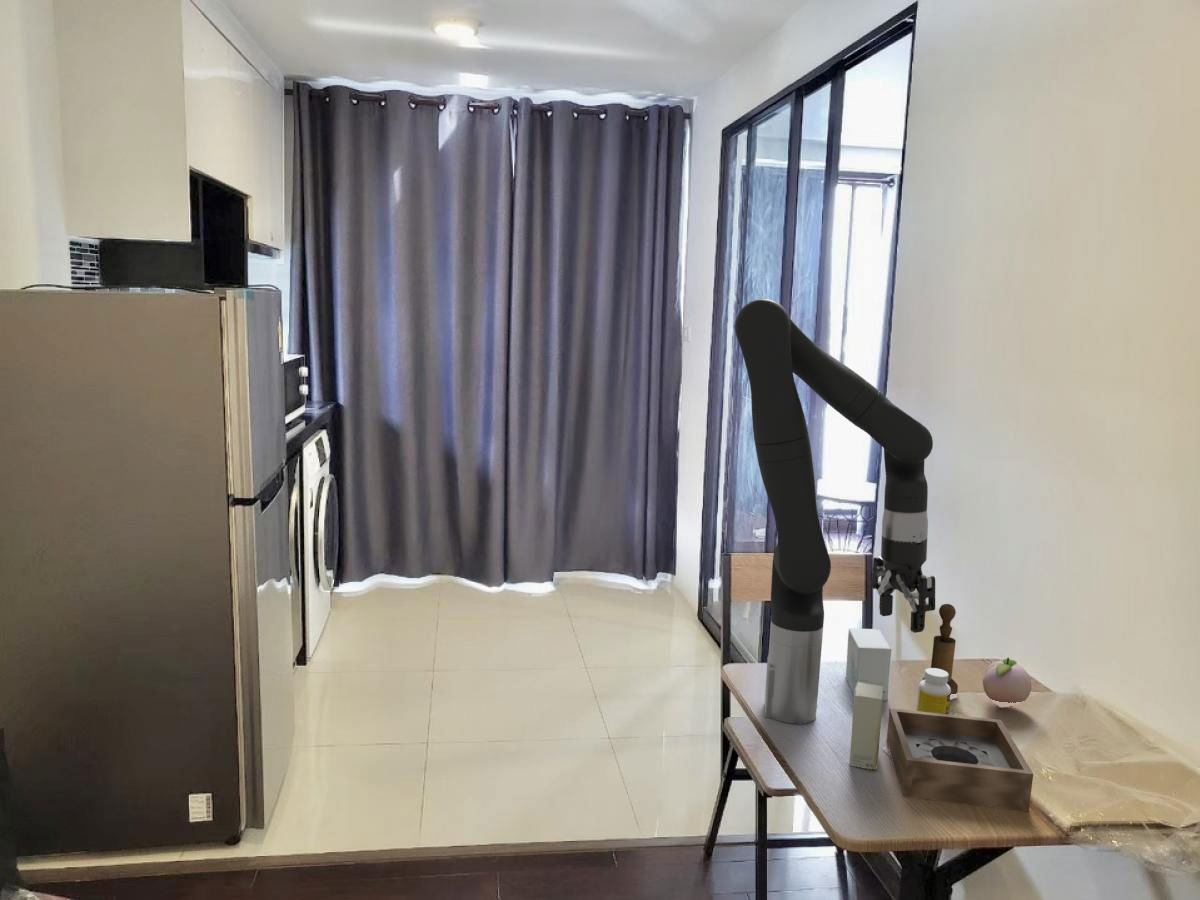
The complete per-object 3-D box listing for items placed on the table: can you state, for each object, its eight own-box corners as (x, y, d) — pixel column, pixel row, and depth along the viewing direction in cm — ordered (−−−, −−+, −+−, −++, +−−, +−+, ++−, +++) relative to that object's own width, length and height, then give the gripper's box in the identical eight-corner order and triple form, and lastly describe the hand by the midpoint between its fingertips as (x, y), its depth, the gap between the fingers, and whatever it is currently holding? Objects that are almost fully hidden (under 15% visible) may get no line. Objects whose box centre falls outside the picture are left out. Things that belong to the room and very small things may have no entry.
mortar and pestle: (964, 696, 174) (973, 607, 171) (943, 703, 170) (953, 612, 167) (934, 683, 179) (943, 597, 176) (914, 690, 175) (922, 602, 172)
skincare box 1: (843, 676, 181) (847, 626, 179) (876, 678, 181) (880, 628, 179) (853, 698, 171) (858, 646, 169) (888, 701, 170) (893, 648, 169)
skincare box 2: (876, 771, 144) (882, 700, 142) (847, 766, 145) (853, 695, 143) (878, 754, 150) (884, 685, 148) (851, 748, 151) (857, 680, 149)
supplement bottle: (949, 732, 158) (955, 679, 157) (917, 728, 159) (922, 676, 158) (944, 718, 164) (949, 667, 162) (913, 715, 165) (918, 664, 163)
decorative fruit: (1026, 723, 163) (1032, 671, 161) (977, 712, 167) (983, 661, 165) (1030, 704, 171) (1036, 654, 169) (983, 694, 175) (989, 645, 173)
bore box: (903, 796, 137) (906, 759, 136) (886, 741, 154) (889, 708, 153) (1028, 811, 134) (1033, 774, 133) (997, 753, 151) (1000, 719, 150)
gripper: (861, 526, 161) (858, 613, 163) (913, 546, 147) (909, 640, 150) (896, 522, 163) (893, 607, 166) (950, 541, 150) (946, 634, 152)
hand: (901, 623), depth 158 cm, fingers open, 8 cm apart
